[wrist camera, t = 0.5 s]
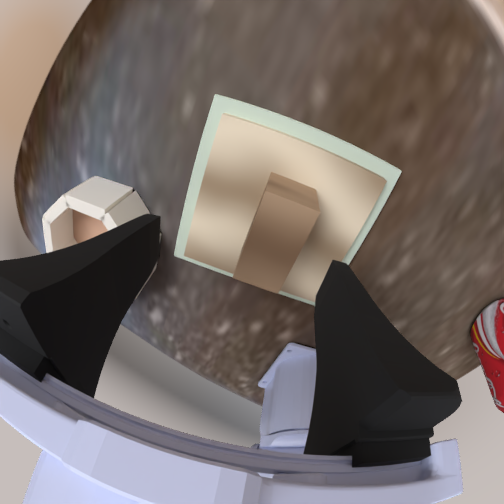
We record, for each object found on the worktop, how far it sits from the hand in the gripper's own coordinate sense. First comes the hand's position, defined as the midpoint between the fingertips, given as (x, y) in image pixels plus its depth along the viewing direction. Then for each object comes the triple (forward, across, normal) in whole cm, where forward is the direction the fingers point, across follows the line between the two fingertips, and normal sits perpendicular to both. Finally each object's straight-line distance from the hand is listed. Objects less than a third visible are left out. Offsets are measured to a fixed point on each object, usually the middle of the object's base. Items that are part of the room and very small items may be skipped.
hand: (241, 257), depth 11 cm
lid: (+8, -2, +2) cm, 9 cm away
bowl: (+9, +12, +7) cm, 17 cm away
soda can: (+9, -28, +6) cm, 30 cm away
